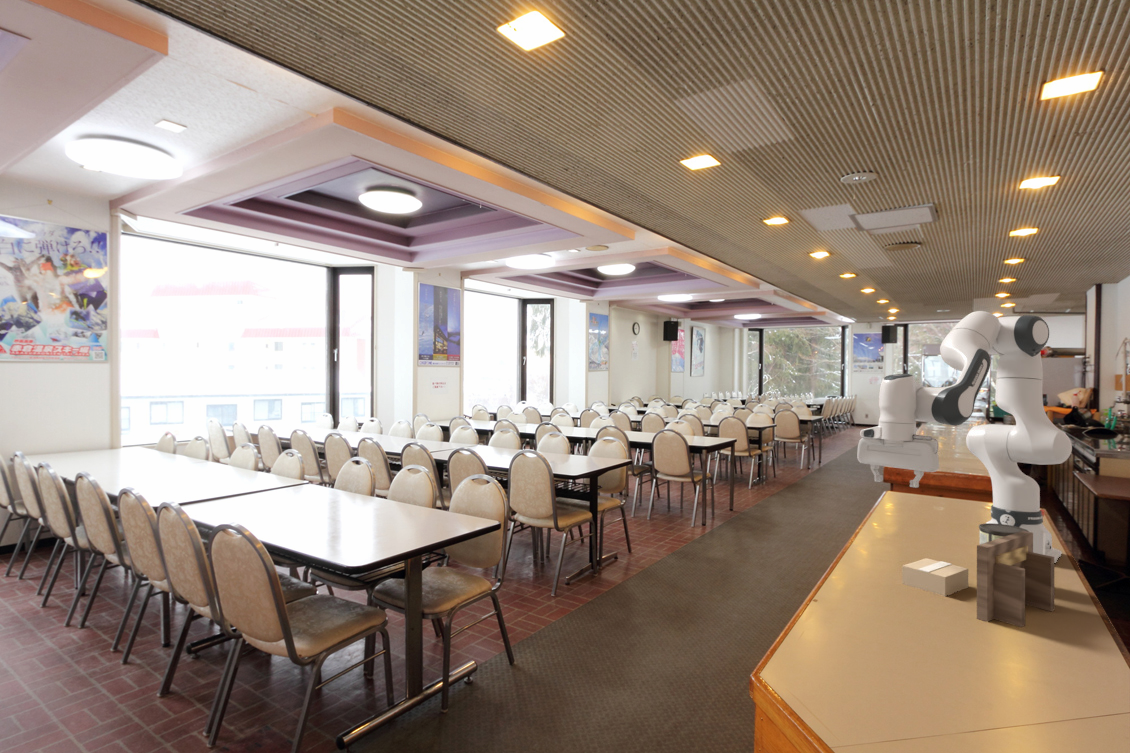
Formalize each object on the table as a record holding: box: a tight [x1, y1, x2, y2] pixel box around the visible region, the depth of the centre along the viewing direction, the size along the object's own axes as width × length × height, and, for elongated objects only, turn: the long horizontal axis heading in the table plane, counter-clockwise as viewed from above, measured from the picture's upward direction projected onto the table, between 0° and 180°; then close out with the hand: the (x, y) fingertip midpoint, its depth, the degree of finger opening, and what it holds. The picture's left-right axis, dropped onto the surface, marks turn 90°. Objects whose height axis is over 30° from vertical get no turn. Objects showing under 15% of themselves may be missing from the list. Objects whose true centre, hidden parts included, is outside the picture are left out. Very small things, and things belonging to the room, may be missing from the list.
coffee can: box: [978, 522, 1029, 545], centre depth 148 cm, size 10×10×14 cm
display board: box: [976, 531, 1055, 628], centre depth 129 cm, size 24×7×16 cm, turn 122°
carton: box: [901, 557, 969, 597], centre depth 145 cm, size 12×10×5 cm
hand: (895, 484), depth 154 cm, fingers open, 8 cm apart
